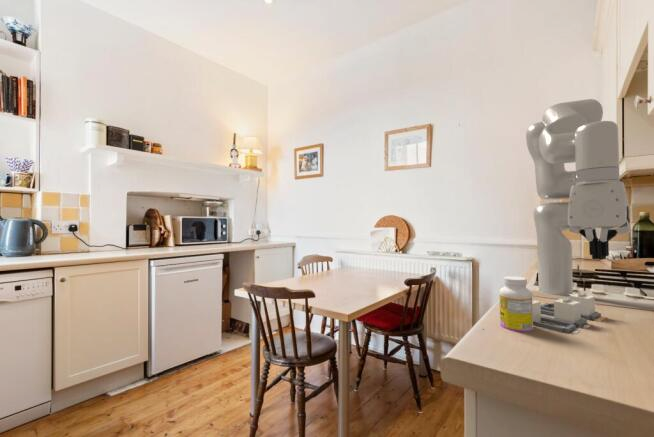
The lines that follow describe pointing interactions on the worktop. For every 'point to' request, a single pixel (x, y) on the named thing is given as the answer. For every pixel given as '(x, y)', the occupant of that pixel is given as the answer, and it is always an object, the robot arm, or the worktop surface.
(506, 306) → the supplement bottle
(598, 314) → the switch board
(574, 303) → the white block with ridge
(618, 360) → the worktop surface
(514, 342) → the worktop surface
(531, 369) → the worktop surface
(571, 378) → the worktop surface
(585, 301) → the white switch slider block
